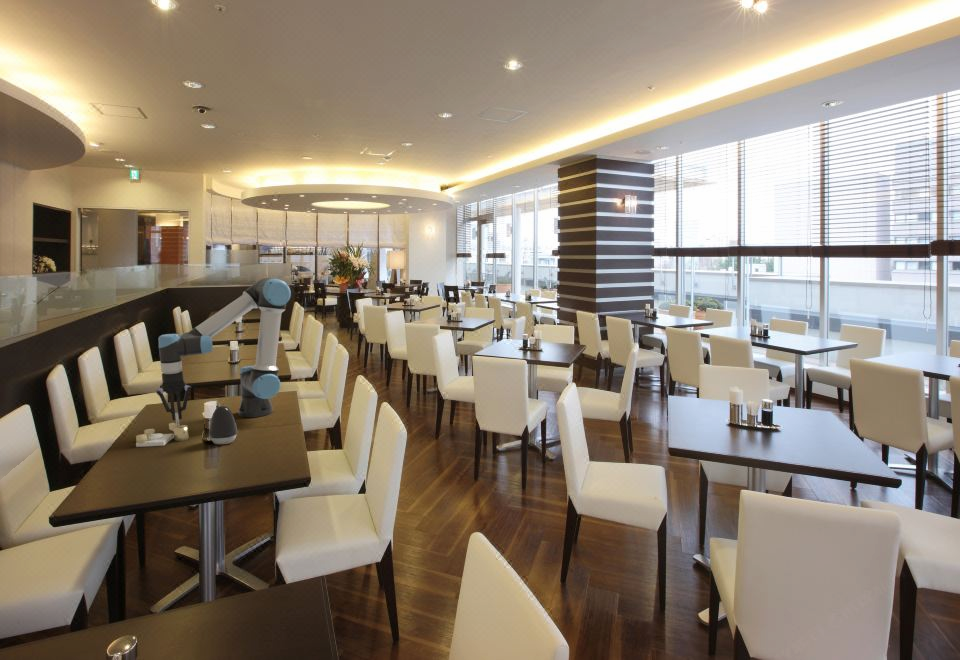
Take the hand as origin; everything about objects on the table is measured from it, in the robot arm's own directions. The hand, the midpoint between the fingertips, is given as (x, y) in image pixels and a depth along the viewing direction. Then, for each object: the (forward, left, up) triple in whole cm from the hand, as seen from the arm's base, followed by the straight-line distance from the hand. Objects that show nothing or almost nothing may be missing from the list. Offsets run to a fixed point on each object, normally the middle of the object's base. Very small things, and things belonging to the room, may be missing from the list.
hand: (178, 427), depth 225 cm
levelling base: (+6, +7, -4) cm, 9 cm away
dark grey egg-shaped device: (-22, +12, -4) cm, 25 cm away
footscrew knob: (-1, +4, -3) cm, 5 cm away
